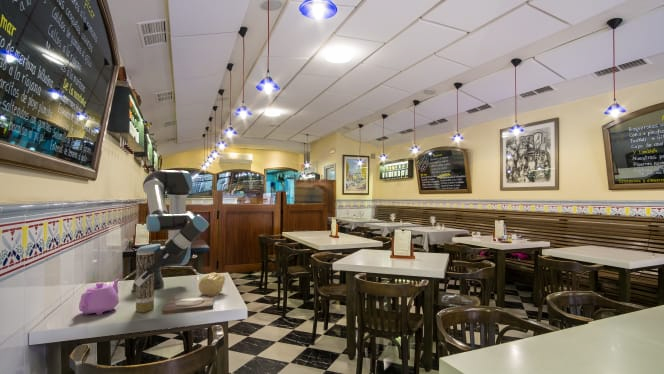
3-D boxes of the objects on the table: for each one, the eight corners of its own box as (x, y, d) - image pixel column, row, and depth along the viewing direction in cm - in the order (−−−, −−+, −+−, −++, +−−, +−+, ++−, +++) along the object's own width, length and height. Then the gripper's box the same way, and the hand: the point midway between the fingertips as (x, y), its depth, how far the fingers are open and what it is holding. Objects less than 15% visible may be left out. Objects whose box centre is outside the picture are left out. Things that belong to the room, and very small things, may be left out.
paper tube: (157, 308, 150) (157, 251, 151) (147, 313, 144) (147, 253, 144) (142, 307, 151) (143, 251, 152) (132, 312, 144) (132, 253, 145)
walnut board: (167, 303, 157) (167, 298, 157) (213, 298, 164) (213, 294, 164) (162, 313, 142) (162, 309, 142) (212, 308, 148) (212, 304, 149)
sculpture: (216, 298, 165) (216, 275, 165) (194, 296, 167) (194, 274, 168) (228, 291, 176) (228, 270, 177) (207, 290, 179) (207, 270, 179)
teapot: (106, 303, 158) (106, 277, 159) (132, 304, 156) (133, 277, 156) (65, 318, 139) (65, 287, 139) (95, 319, 136) (95, 289, 137)
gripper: (181, 253, 141) (140, 293, 136) (186, 246, 165) (152, 280, 160) (167, 241, 140) (125, 281, 134) (175, 235, 163) (139, 269, 158)
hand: (140, 280), depth 147 cm, fingers open, 13 cm apart
